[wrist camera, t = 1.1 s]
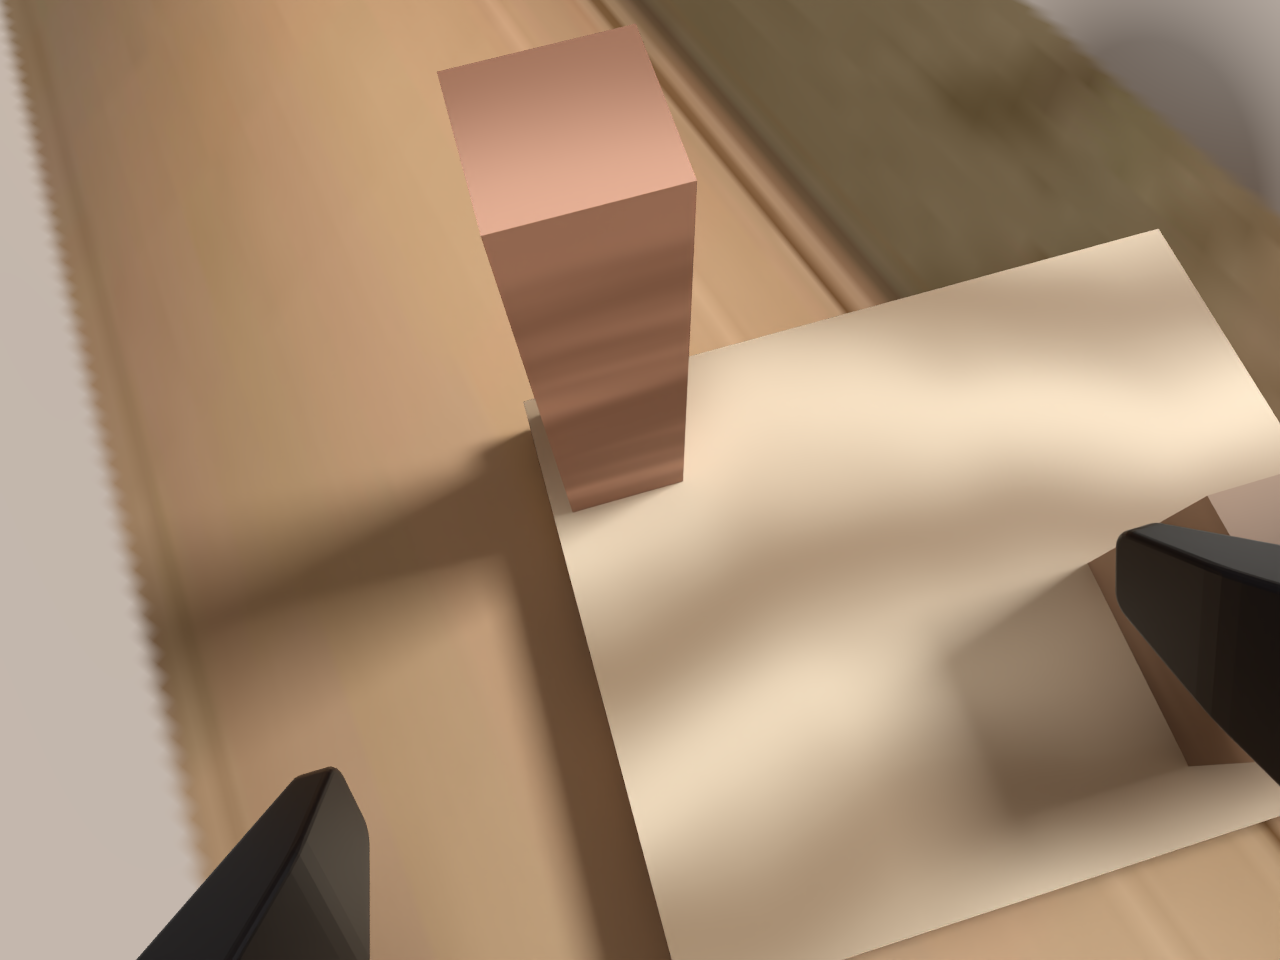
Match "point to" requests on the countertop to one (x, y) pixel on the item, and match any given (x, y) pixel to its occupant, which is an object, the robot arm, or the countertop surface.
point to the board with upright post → (850, 538)
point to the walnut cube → (1244, 512)
